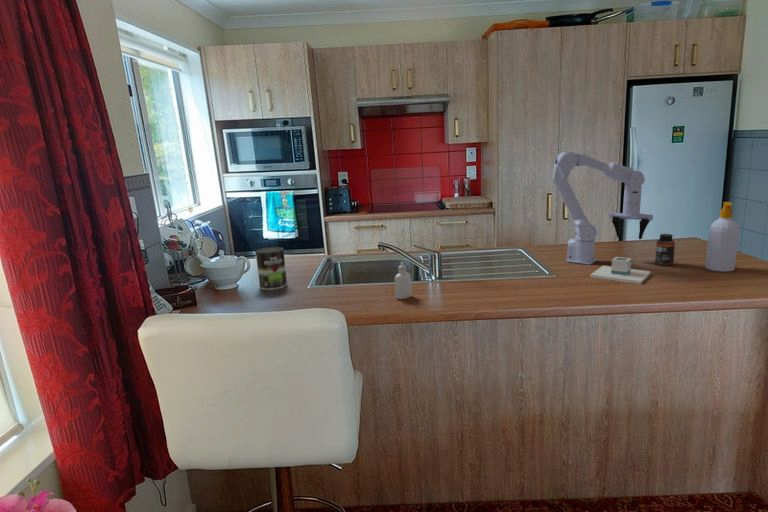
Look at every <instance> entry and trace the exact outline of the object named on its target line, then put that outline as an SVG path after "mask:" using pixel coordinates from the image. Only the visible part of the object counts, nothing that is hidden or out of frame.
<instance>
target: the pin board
mask: <svg viewBox="0 0 768 512" xmlns="http://www.w3.org/2000/svg"><path fill="white" fill-rule="evenodd" d="M611 268H612V265H611V266H610V265H609V266H608V265H601V266H600V267H599V268H598V269H596V270H595V271H593V272H591V274H590V278H592V279H593V278H594V279H601V280H607V281H613V282H614V281H616V282H621V283H629V284H637V285H642V283H644V282H645V281H646V280H647V279H648V277H650V275H651V274H652V272H651V271H650V270H644V269H636V268H635V269H634V268H631V272H630V273H629V274H628V275H627V276H626V275H619V274H611Z"/></svg>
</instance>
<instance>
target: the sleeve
mask: <svg viewBox="0 0 768 512" xmlns="http://www.w3.org/2000/svg"><path fill="white" fill-rule="evenodd" d="M611 266H612V268H611V274H619V275H626V276H627V275H628V274H629V273H630V272H631V269H632V258H631V257H623V256H615V257H614V258H612V259H611Z"/></svg>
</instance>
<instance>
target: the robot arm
mask: <svg viewBox="0 0 768 512" xmlns="http://www.w3.org/2000/svg"><path fill="white" fill-rule="evenodd" d="M553 163H554V164H553V173H552V181H553V183H554V185H555V187H556V189H557V191H558V193H559V195H560V197H561V200H562V201H563V203H564V205H565V207H566V209H567V211H568V214H569V215H570V217H571V219H572V223H573V225H574V232H575V233H574V234H576V235H575V237H574V238H569V239H568V242H567V251H566V252H567V254H566V256H567V257H566V262H567V263H577V264H583V265H592V264H594V263H595V262H596V261H598V258H594V257H595V242H596V241H595V240H596V239H595V238H596V235H597V229H596V227H595V226H593V225H592V224H591V222H590V220H589V219H588V217H587V216H586V215H585V213H584V211H583V209H582V206H581V205H580V203H579V200H578V199H577V197H576V194H575V192H574V190H573V188H572V186H571V184H570V183H569V181H568V178H569V175H570V173H571V171H572V170H573V169H575V167H583V166H585V167H589V168H591V169H595V170H597V171H601V172H603V173H604V175H605V177H606V178H609V179H612V180H614V181H617V182H619V183H624V191H623V192H624V193H623V205H622V206H623V207H622V212H611V213H609V219H611V222H612V224H613V226H614V229H615V232H616V238H620V237H621V233H622V232H621V230H622V228H621V227H622V221H623V220H639V232H638V240H642V239H643V236H644V232H645V230H646V229H647V226H648V225H649V223H650V222H651V221H653V220H654V215H653V214H645V213H641V203H642V202H641V199H642V185H643V184H644V183H645V180H646V178H645V176H644V174H643V173H642V171H638V170H635V169H634V168H633V167H632V166H631V167H630V166H629V167H627V166H625V165H622V164H621V162H619V161H616V162H610V163H605V162H603V161H601V160H598V159H596V158H593V157H591V156H588V155H586V154H582V153H576V152H572V151H565V150H564V151H562V152H559V153H558V154H557V156H556V157H555V159H554V162H553Z"/></svg>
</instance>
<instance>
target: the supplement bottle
mask: <svg viewBox="0 0 768 512" xmlns="http://www.w3.org/2000/svg"><path fill="white" fill-rule="evenodd" d="M673 237H674V236H673V234H669V233H661V234H660V235H659V239H658V240H657V241H656V246H655V247H656V248H655V257H654V259H655V261H654V262H655V265H657V266H663V267H666V266H667V267H668V266H673V264H674V261H675V259H674V258H675V250H676V249H675V247H676V242H675V240H673Z"/></svg>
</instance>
